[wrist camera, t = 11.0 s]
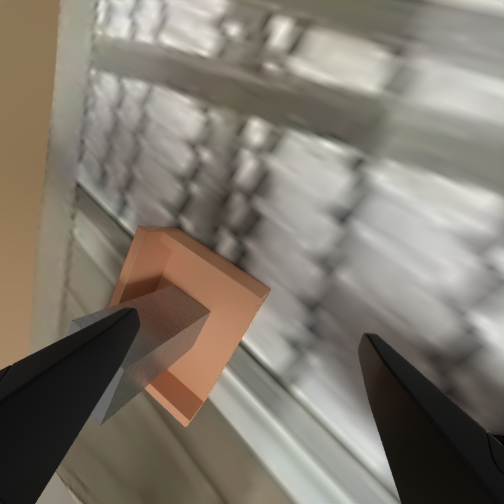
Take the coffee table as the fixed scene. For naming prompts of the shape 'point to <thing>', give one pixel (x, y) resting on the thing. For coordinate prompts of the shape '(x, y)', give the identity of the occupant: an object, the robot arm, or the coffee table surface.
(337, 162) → the coffee table surface
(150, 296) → the block
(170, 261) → the coupler dock
